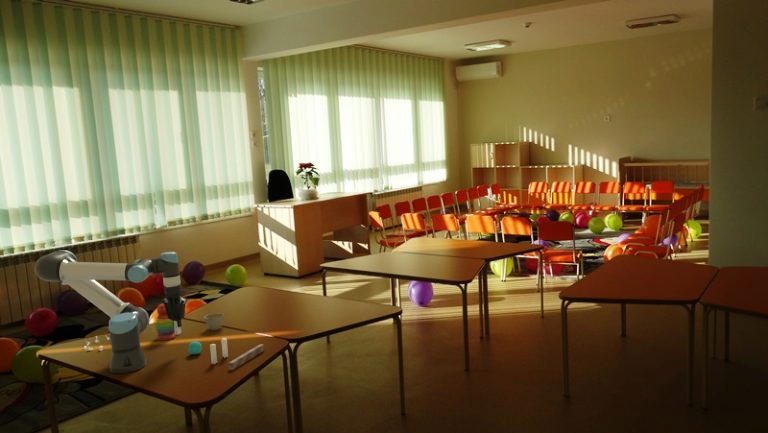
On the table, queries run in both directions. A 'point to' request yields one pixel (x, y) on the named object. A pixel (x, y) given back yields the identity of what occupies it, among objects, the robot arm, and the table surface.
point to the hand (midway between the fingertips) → (178, 333)
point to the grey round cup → (214, 320)
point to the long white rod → (246, 357)
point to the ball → (194, 347)
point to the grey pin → (213, 353)
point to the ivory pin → (224, 347)
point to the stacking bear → (164, 325)
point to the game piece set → (92, 348)
